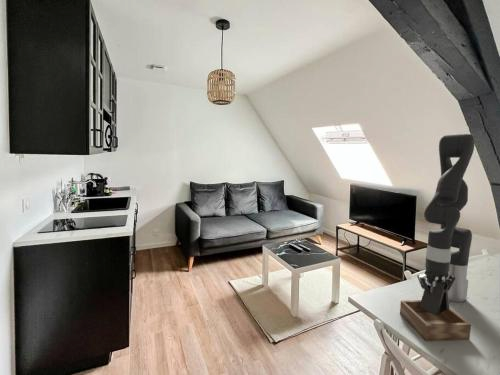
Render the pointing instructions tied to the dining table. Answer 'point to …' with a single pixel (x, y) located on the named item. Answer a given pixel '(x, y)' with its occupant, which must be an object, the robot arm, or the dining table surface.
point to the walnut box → (435, 323)
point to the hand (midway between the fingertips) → (434, 300)
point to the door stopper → (436, 299)
